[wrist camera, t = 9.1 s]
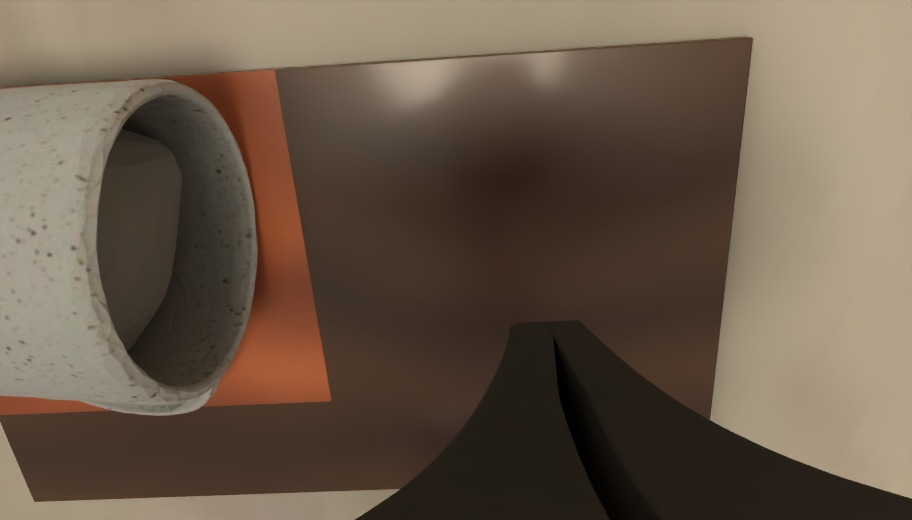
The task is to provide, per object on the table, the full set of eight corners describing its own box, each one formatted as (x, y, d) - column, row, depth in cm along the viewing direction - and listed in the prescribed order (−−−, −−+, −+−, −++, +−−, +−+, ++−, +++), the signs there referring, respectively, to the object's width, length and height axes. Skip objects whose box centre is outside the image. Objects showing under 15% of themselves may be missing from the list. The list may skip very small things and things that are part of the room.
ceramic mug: (-57, 78, 17) (-426, 139, 10) (230, 60, 17) (54, 111, 10) (63, 392, 21) (-138, 589, 14) (294, 383, 21) (204, 581, 14)
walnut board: (700, 472, 22) (703, 478, 22) (39, 496, 24) (33, 502, 23) (748, 36, 17) (753, 37, 16) (-130, 96, 18) (-140, 97, 17)
